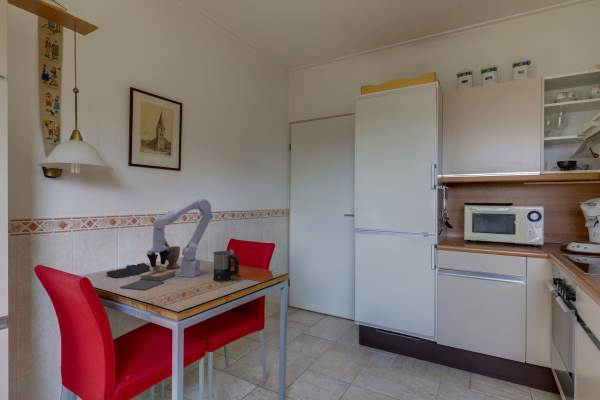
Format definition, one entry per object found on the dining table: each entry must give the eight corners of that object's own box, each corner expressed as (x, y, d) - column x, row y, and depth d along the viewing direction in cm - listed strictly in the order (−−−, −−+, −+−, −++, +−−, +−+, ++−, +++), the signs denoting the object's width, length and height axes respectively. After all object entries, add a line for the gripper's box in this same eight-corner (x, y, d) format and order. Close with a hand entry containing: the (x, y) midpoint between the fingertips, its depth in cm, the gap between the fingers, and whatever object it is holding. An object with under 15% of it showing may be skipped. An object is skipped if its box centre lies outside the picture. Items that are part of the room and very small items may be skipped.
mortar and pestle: (166, 271, 183) (166, 237, 183) (157, 269, 187) (157, 236, 188) (182, 267, 193) (183, 235, 193) (173, 266, 197) (174, 234, 197)
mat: (164, 282, 158) (164, 281, 158) (144, 290, 144) (144, 289, 144) (141, 280, 161) (141, 279, 161) (119, 288, 147) (119, 287, 148)
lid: (176, 271, 173) (176, 264, 173) (160, 277, 160) (160, 269, 160) (156, 270, 176) (156, 262, 176) (139, 275, 163) (139, 267, 163)
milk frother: (212, 282, 161) (212, 253, 162) (214, 274, 177) (214, 248, 177) (239, 281, 164) (240, 253, 164) (239, 274, 180) (239, 248, 180)
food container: (223, 268, 193) (224, 252, 193) (216, 267, 196) (217, 251, 196) (237, 265, 203) (237, 250, 203) (230, 264, 207) (231, 249, 207)
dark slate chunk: (102, 276, 171) (102, 267, 171) (140, 269, 190) (140, 261, 190) (117, 280, 163) (117, 271, 163) (155, 272, 182) (155, 264, 182)
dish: (174, 276, 172) (174, 272, 172) (160, 281, 161) (160, 277, 161) (156, 274, 175) (156, 270, 175) (140, 279, 164) (140, 275, 164)
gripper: (161, 238, 176) (160, 262, 176) (142, 241, 162) (142, 267, 162) (172, 239, 174) (171, 263, 174) (154, 242, 160) (153, 268, 160)
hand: (158, 265), depth 168 cm, fingers open, 7 cm apart
